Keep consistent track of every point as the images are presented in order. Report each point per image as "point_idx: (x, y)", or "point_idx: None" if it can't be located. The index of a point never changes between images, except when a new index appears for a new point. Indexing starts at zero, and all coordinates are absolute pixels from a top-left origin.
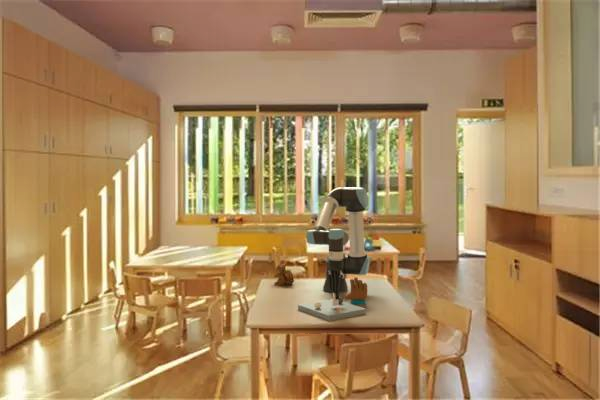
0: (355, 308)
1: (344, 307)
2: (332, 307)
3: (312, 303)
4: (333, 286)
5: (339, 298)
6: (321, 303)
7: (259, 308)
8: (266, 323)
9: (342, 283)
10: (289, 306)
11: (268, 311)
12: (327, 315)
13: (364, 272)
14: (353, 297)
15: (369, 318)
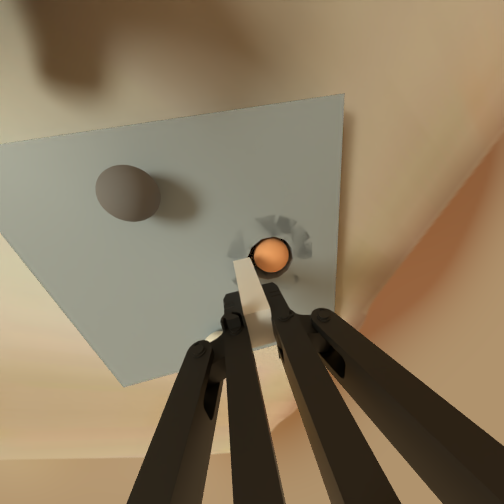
0: (302, 164)
1: (252, 216)
2: (226, 275)
3: (107, 335)
4: (264, 405)
5: (143, 210)
6: (116, 296)
7: (90, 451)
8: None
9: (440, 413)
10: (66, 384)
11: (139, 433)
12: None
13: None
14: None
15: (396, 151)
